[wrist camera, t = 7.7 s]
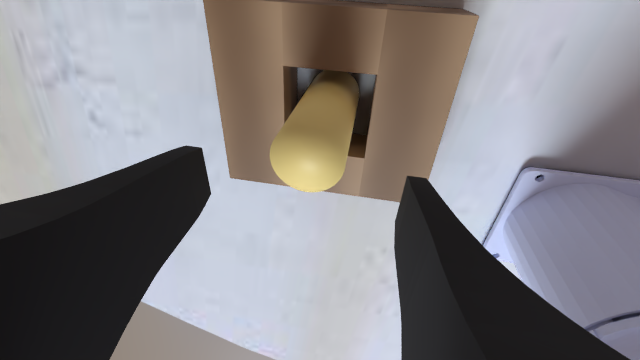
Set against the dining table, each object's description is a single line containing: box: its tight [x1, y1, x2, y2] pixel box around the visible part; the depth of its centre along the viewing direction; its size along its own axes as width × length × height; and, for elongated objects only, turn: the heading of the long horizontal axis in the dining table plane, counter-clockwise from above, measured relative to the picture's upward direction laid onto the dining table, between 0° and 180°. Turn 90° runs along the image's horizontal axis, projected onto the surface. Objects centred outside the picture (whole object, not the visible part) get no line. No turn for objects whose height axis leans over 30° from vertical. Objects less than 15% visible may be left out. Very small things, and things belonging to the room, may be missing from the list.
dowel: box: [270, 70, 359, 192], centre depth 15 cm, size 3×3×8 cm
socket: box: [203, 0, 479, 202], centre depth 17 cm, size 12×10×3 cm
